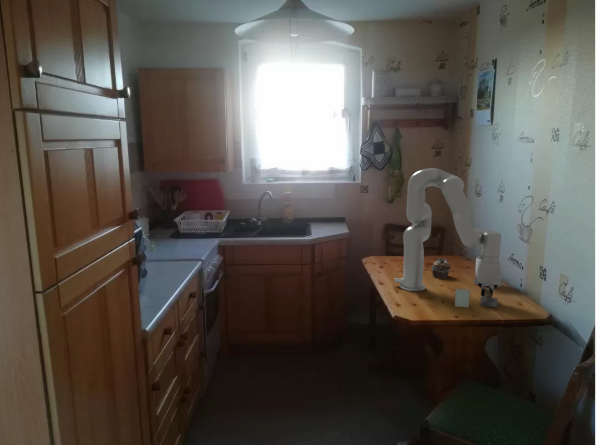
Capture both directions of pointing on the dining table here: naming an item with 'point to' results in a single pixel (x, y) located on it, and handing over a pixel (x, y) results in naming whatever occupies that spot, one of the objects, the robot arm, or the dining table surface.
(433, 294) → the dining table surface
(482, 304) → the scraper
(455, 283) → the dining table surface
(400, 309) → the dining table surface
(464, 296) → the tile
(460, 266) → the dining table surface
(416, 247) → the robot arm
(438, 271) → the cupcake
